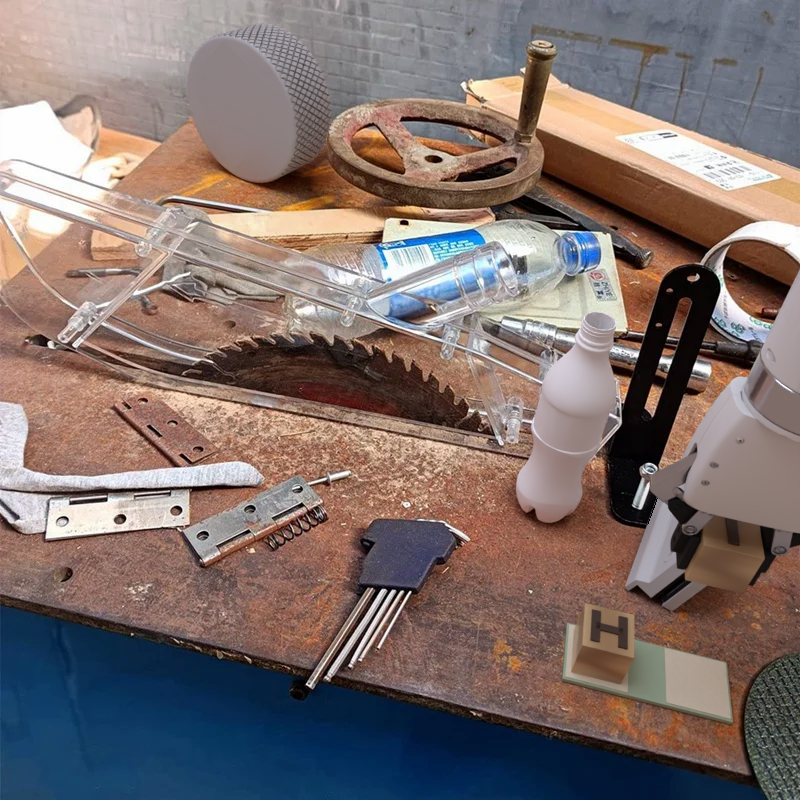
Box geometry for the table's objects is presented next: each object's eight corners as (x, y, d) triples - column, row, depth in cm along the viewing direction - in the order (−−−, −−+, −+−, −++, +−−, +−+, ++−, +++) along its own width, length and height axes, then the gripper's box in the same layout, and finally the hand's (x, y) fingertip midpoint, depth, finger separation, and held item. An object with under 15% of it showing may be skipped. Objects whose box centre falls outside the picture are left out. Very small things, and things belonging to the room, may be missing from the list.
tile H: (621, 641, 71) (635, 613, 68) (620, 684, 68) (635, 656, 65) (573, 630, 72) (585, 601, 69) (570, 672, 69) (582, 643, 66)
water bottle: (570, 483, 88) (631, 302, 71) (580, 531, 82) (648, 347, 66) (509, 478, 87) (555, 295, 71) (515, 527, 82) (566, 341, 66)
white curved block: (660, 486, 88) (718, 439, 81) (694, 511, 88) (755, 465, 81) (623, 590, 77) (687, 545, 69) (662, 619, 76) (730, 577, 69)
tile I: (737, 550, 63) (759, 512, 60) (743, 594, 59) (766, 557, 56) (682, 537, 63) (701, 499, 60) (684, 580, 60) (704, 542, 57)
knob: (330, 183, 142) (333, 41, 126) (296, 201, 135) (294, 54, 119) (229, 145, 151) (219, 9, 135) (192, 161, 144) (178, 19, 128)
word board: (725, 664, 71) (727, 661, 71) (731, 724, 67) (733, 721, 66) (566, 625, 73) (567, 621, 73) (561, 681, 69) (563, 677, 68)
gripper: (929, 384, 51) (812, 552, 63) (675, 334, 53) (609, 506, 65) (964, 459, 46) (829, 629, 57) (679, 400, 48) (606, 575, 60)
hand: (713, 562), depth 61 cm, fingers closed on tile I, 4 cm apart
